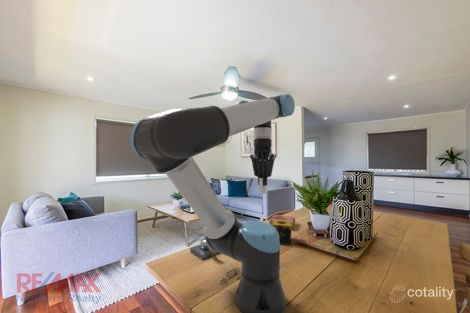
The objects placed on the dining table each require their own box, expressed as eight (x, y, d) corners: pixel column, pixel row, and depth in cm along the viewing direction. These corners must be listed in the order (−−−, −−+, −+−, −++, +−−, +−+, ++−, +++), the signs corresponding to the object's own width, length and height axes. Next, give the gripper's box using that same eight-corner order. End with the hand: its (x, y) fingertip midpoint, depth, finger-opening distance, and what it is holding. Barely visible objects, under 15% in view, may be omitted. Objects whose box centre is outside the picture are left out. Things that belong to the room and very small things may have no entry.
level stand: (202, 259, 90) (202, 239, 90) (190, 252, 97) (190, 233, 97) (240, 243, 106) (240, 226, 106) (228, 238, 113) (228, 222, 113)
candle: (272, 236, 117) (272, 218, 117) (290, 237, 115) (290, 219, 115) (271, 243, 107) (271, 224, 107) (291, 245, 105) (291, 225, 105)
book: (295, 224, 139) (295, 216, 139) (291, 231, 125) (291, 223, 125) (274, 221, 145) (274, 214, 145) (268, 228, 131) (268, 220, 131)
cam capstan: (220, 253, 91) (220, 242, 91) (209, 256, 88) (209, 245, 88) (207, 241, 104) (207, 232, 104) (197, 243, 101) (197, 234, 101)
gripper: (280, 138, 87) (280, 193, 86) (256, 139, 96) (256, 190, 96) (269, 136, 81) (269, 196, 81) (245, 138, 91) (245, 192, 91)
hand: (262, 193), depth 88 cm, fingers closed
